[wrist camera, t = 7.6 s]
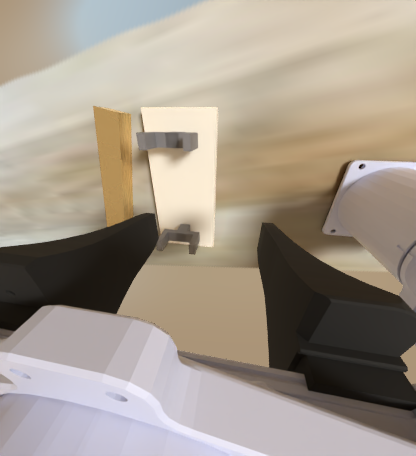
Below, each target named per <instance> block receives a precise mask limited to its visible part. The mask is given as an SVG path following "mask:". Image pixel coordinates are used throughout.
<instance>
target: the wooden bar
mask: <svg viewBox="0 0 416 456" xmlns="http://www.w3.org/2000/svg"><path fill="white" fill-rule="evenodd" d="M93 108H94V117H95V126H96V134H97V143H98V151H99V160H100V168H101V177H102V186H103V194H104V203H105V211H106V220H107V227H109V226H112V225H115V224H118V223H120V222H123V221H125V220H128V219H130V218H133V192H132V145H131V114H129V113H125V112H121V111H117V110H113V109H109V108H103V107H96V106H93Z"/></svg>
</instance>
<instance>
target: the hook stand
mask: <svg viewBox="0 0 416 456" xmlns="http://www.w3.org/2000/svg"><path fill="white" fill-rule="evenodd" d="M141 112H142V119H143V125H144V131H145V132H140V133H136V135H137V140H138V146H139V150H147V151H148V157H149V163H150V170H151V176H152V182H153V189H154V195H155V202H156V208H157V214H158V221H159V227H160V233H161V235H160V236H159V239H158V241H157V244H156V246H157V250H159V251H163V249H164V248H165V246H166V244H167V243H177V244H187V245H189V254H194V255H195V253H196V250H197V247H198V246H206V247H213V244H214V228H215V197H216V166H217V135H218V108H217V107H141Z"/></svg>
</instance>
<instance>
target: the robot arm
mask: <svg viewBox="0 0 416 456" xmlns="http://www.w3.org/2000/svg"><path fill="white" fill-rule="evenodd" d="M361 164H363V166H362V167H361V168H359V165H361ZM333 229H334V231H332V232H330V231H331V230H333ZM322 232H323V233H324V234H327V235H338V236H350V237H354V238H355V239H356V240H357V241H358V242H359V243H360V244H361V245H362V246H363V247H364V248H365V249H366V250H367V251H368V252H369V253H371V254H372V255H373V256H374V257H375V258H376V259H377V260H378V261H379V262H380V263H381V264H382V265H383V266H384V267H385V268H386V269H387V270H388V271H389V272H390V273H391V274H392V275H393V276H394V277H395V278H396V279H397V280H399V282H400V283H401V284H402V285H403V289H402V291H401V293H400V294H399V296H398V295H395V294H393V293H390V292H388V291H385V290H382V289H380V288H377V287H375V286H372V285H369V284H367V283H365V282H362V281H360V280H358V279H356V278H353V277H351V276H349V275H346V274H345V273H343V272H341V271H339V270H337V269H335V268H333V267H331V266H329V265H327V264H326V263H324V262H322V261H320V260H319V259H317V258H316V257H314V256H312V255H311V254H309V253H308V252H306V251H305V250H304V249H302V248H301V247H300V246H298V245H297V244H296V243H294V242H293V241H292V240H291V239H290V238H288V237H287V236H286V235H285V234H284V233H283V232H282V231H281V230H280V229H278V228H277V227H276V226H275V225H274V224H273V223H262V227H261V233H260V238H259V243H258V248H257V251H258V264H259V269H260V274H261V279H262V284H263V289H264V295H265V304H266V315H267V330H268V347H269V367H263V366H258V365H253V364H248V363H242V362H237V361H232V360H227V359H221V358H216V357H211V356H206V355H200V354H195V353H190V352H184V351H179V350H177V348H176V345H175V343H174V342H173V340H172V338H171V337H170V335H169V333H168V332H166V331H165V330H163V329H162V328H160V327H159V326H157V325H156V324H155V323H152V322H149V321H145V320H142V319H139V318H135V317H130V316H124V315H118V314H117V311H118V309H119V307H120V305H121V303H122V301H123V299H124V297H125V295H126V293H127V291H128V289H129V287H130V285H131V283H132V281H133V280H134V278H135V277H136V275H137V273H138V272H139V271H140V269H141V268H142V266H143V265H144V263H145V262H146V260H147V259H148V257H149V256H150V254H151V253H152V251H153V250H154V248H155V246H156V244H157V241H158V239H159V237H158V231H157V225H156V219H155V214H152V213H145V214H141V215H138V216H135V217H133V218H130V219H128V220H125V221H123V222H120V223H118V224H115V225H112V226H109V227H106V228H104V229H101V230H98V231H94V232H91V233H87V234H83V235H79V236H75V237H70V238H66V239H61V240H55V241H49V242H43V243H36V244H28V245H18V246H9V247H1V248H0V456H416V384H412V385H411V384H410V382H409V381H408V379H407V378H406V376H405V374H404V373H403V372H406V371H408V369H407V366H406V364H405V363H404V362H403V360H402V359H401V357H400V356H401V355H402V354H403V353H404V352H406V351H407V350H408V349H409V348H410V347H411V346H413V345H414V344H415V346H416V162H403V161H372V160H354V161H351V162H350V163H349V165H348V167H347V169H346V172H345V174H344V177H343V179H342V182H341V184H340V187H339V189H338V191H337V194H336V196H335V199H334V201H333V204H332V206H331V209H330V211H329V214H328V216H327V219H326V221H325V224H324V226H323V229H322ZM409 306H410V307H409Z"/></svg>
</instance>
